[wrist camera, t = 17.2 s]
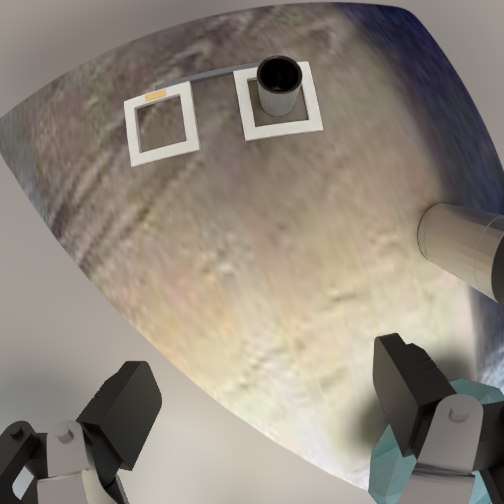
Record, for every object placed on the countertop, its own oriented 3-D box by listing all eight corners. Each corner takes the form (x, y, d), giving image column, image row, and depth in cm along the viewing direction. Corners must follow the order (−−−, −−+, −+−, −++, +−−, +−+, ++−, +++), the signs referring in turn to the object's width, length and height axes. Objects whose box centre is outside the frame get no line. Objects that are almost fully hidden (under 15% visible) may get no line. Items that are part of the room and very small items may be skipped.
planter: (287, 122, 35) (293, 101, 25) (254, 109, 35) (249, 85, 25) (299, 93, 34) (309, 64, 24) (267, 81, 34) (266, 49, 24)
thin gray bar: (269, 62, 33) (269, 60, 32) (270, 67, 33) (270, 65, 32) (157, 87, 34) (155, 85, 34) (157, 92, 35) (155, 90, 34)
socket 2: (307, 64, 33) (308, 60, 31) (321, 131, 35) (323, 129, 34) (234, 73, 34) (232, 70, 32) (246, 141, 36) (245, 139, 35)
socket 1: (191, 83, 34) (188, 80, 33) (201, 150, 36) (199, 149, 35) (127, 103, 35) (122, 101, 34) (134, 166, 37) (130, 166, 36)
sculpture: (360, 520, 37) (458, 568, 10) (312, 438, 41) (451, 493, 14) (442, 440, 48) (540, 447, 21) (414, 352, 53) (536, 334, 25)
